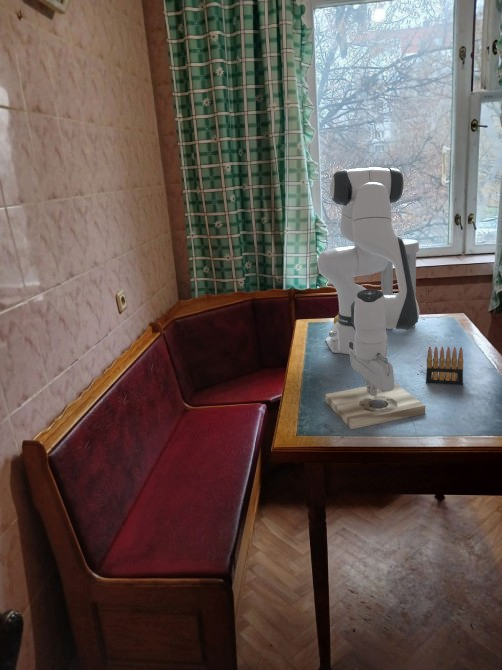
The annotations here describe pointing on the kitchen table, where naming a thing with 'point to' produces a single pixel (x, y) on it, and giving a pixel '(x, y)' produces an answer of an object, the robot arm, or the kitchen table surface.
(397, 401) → the board
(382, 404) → the ball
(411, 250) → the stool
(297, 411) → the kitchen table surface
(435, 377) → the ammunition clip
